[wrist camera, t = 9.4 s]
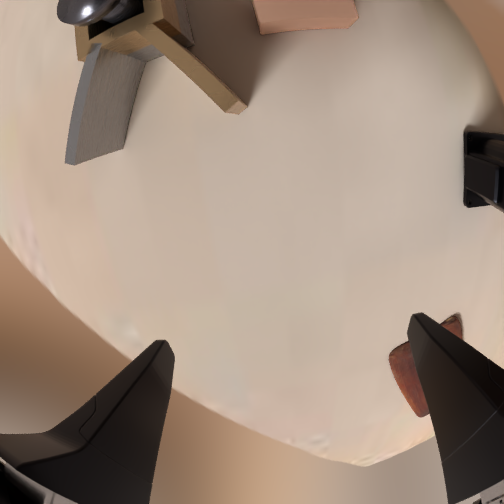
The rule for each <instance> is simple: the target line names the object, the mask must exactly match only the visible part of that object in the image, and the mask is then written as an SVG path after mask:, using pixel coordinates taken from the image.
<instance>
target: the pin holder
mask: <svg viewBox="0 0 504 504" xmlns="http://www.w3.org/2000/svg"><path fill="white" fill-rule="evenodd" d="M251 1H252V4H253V8H254V11H255V15H256V19H257V22H258V26H259V30H260V34H261V35H264V34H270V33H278V32H286V31H296V30H309V29H332V28H349V27H350V26H351V25H352V24H353V23H354V22H355V21H356V20H357V19H358V18H359V16H358V13H357V10H356V7H355V4H354V1H353V0H251Z"/></svg>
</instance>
